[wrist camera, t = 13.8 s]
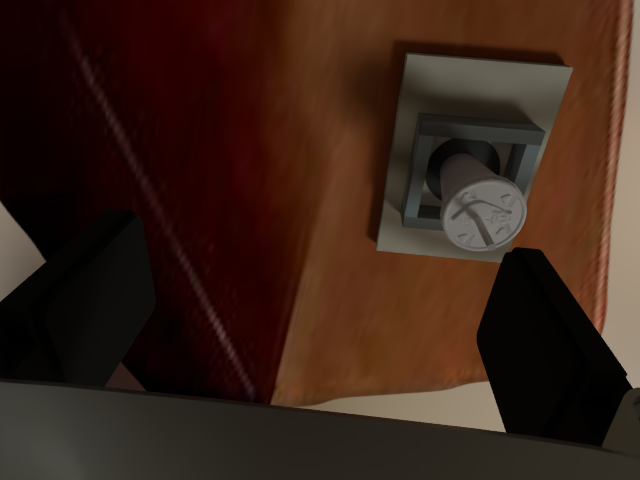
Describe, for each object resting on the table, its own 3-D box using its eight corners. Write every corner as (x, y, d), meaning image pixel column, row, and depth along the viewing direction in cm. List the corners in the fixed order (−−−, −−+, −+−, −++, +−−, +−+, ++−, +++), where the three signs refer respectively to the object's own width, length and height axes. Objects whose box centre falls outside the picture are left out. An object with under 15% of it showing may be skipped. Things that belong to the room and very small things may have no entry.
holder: (405, 51, 37) (411, 59, 34) (565, 64, 37) (589, 73, 33) (376, 243, 48) (377, 265, 44) (500, 255, 47) (513, 279, 43)
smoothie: (426, 141, 40) (454, 207, 28) (497, 136, 39) (558, 201, 27) (425, 203, 43) (449, 286, 31) (490, 199, 42) (542, 282, 30)
